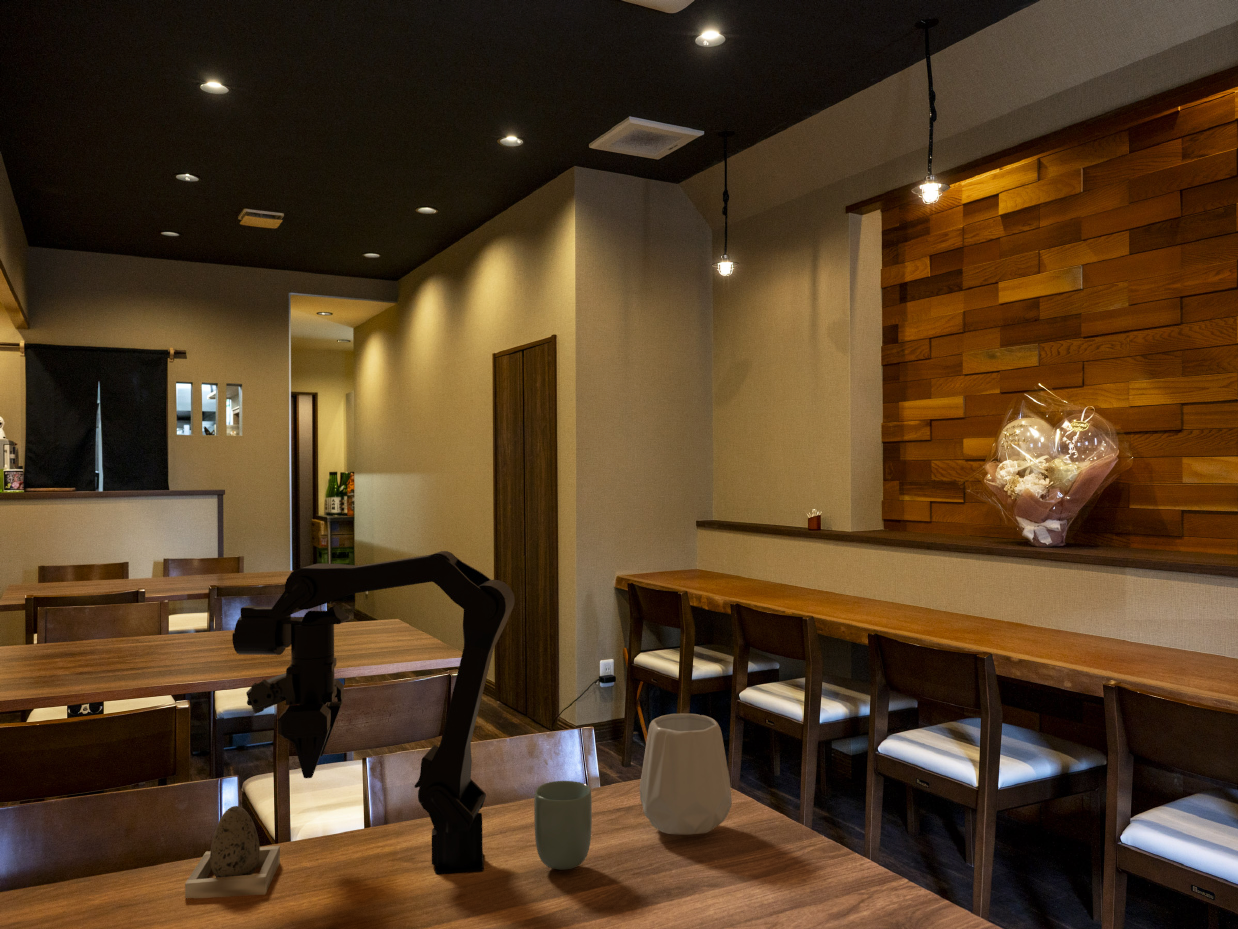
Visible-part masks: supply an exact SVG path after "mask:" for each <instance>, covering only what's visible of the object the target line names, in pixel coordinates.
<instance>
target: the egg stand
mask: <svg viewBox="0 0 1238 929" xmlns="http://www.w3.org/2000/svg"><path fill="white" fill-rule="evenodd" d="M259 847H260V854H259V860H258V864H257V866H256V868H261V869H260V871H259V873H258V874H252V875H243V876H230V877H218V878H216V877H209V878H208V876H209V875H210V874H209V873H211V872H212V868H211V863H210V852H211V850H210V851H208V850H206V851H205V853H204V854H203V856H202V857H201V859H200V860H199V861H198V863H197V865H196V866H195V868H194V869H193V871H192V872H191V874H190V876H189V877H188V878H187V880H186V881H185V883H184V898H194V899H209V898H211V899H212V898H226V897H245V896H256V895H257V896H260V895H266V894H267V892H268V889H269V887H270V885H271V884H272V880H273V879H274V877H275V875H276V872H277V870H278V868H279V866H280V864H281V851H280V850H281V845H272V846H259Z"/></svg>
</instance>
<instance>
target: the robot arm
mask: <svg viewBox="0 0 1238 929" xmlns="http://www.w3.org/2000/svg"><path fill="white" fill-rule="evenodd" d="M426 583H434V584H435V585H436V586H438V587H439V588H440V590H442V591H443V592H444V594H445V595H447V597H449V599H450V600H451V601H452V602H453V603H455V604H456V605H457V606H458V607H460V608H462V609H463V618H462V633H463V634H462V635H463V649H462V654H461V657H460V661H459V666H458V669H457V673H456V676H455V677H456V679H455V681H454V686H453V690H452V695H451V698H450V703H449V705H448V706H449V707H448V711H447V714H446V718H445V723H444V728H443V731H442V735H441V738H440V742H439V743H440V744H439V746H438V745H436V744H433V746H431V748H430V749H429V750H428V751H427V752H426V753H425V754H424V756H423V757H422V758H421V762H420V772H419V777H418V779H417V781H416V783H415V784H414V788H415V789H418V790H417V799H418V800H417V801H418V803H419V804H420V805H421V807H422V808H423V810H424V811H425V812H427V813H428V815H429V819H430V821H431V823H432V826H433V828H432V829H431V865H432V866H434V867H435V868H434V874H435V875H452V874H462V873H463V874H464V873H474V872H475V873H478V872H483V871H484V869H485V866H484V851H483V847H484V846H483V813H482V812H480V811H481V810H482V809H483V806H484V803H485V800H486V798H487V793H486V792H485V791H484V790H483V789H482V788H481V787H480V786H479V785H478V784H477V783H476V782H475V781H474V780H473V779H472V778H471V777H472V765H473V764H472V763H473V762H472V761H473V759H472V748H471V747H472V745H471V744H472V739H473V734H474V730H475V726H476V722H477V717H478V716H479V715H478V713H479V710H480V706H481V702H482V698H483V693H484V689H485V686H486V682H487V678H488V674H489V669H490V665H491V661H492V657H493V652H494V649H495V646H496V645H497V643H498V641H499V639H500V637H501V635H502V633H503V630H504V629H505V627H506V625H507V623H508V620H509V618H510V616H511V614H512V611H513V608H514V606H515V593H514V592H513V590H512V589H511V587H510V586H509V585H508V584H507V583H506V582H504V581H502V580H499V579H498V580H497V579H491V578H489V577H488V576H487V575H486V574H484V573H483V572H482V571H479V570H478V569H477V568H474V567H473V566H470V565H469V564H467V563H465V562H463V561H462V560H461V559H459V558H458V557H457V556H455V554H453V553H452V552H450V551H448V550H441V551H438V552H434V553H432V554H425V555H417V556H413V557H407V558H406V557H405V558H399V559H393V560H387V561H380V562H373V563H367V564H362V565H361V564H359V565H357V564H355V565H352V564H346V563H345V564H344V563H343V564H342V563H315V564H311V565H308V566H304V567H299V568H296V569H294V570H292V571H291V572H290V573H289V575H288V576H287V578H286V580H285V583H284V591H283V593H282V594H281V595H280V597H278V599H277V600H276V602H275V604H274V605H273V606H259V605H252V604H251V605H250V604H249V605H246V606H243V607H240V616H239V617H238V619H237V621H236V623H235V625H234V626H235V627H234V631H233V633H232V640H231V641H232V645H233V650H234V651H235V653H236V654H238V655H239V656H240V655H243V656H247V655H249V656H255V655H256V656H257V655H258V656H259V655H260V656H265V655H266V656H269V655H270V656H280V655H282V654H283V653H284V652H285V650H286V649H287V648H289V647H290V649H291V650H290V652H291V653H290V654H291V658H290V664H289V666H288V667H287V668H286V670H285V673H282V674H279V675H276V676H274V677H271V678H269V679H262V680H261V681H260V682H254V683H253V684H252V685H251V687H250V688H249V689H248V690H247V691H246V697H247V701H246V704H247V706H250V707H251V708H252V711H253V713H254V714H260V713H262V712H264V710H266V709H269V708H271V707H273V706H275V705H278V704H281V703H283V702H285V706H288V707H287V708H286V709H285V710H284V711H283V712H282V713H281V714H280V716H279V717H278V719H277V735H280V737H282V739H286V740H288V741H290V742H291V743H292V744H293V745H294V749H295V752H296V755H297V758H298V763H299V766H300V769H301V773H302V777H303V778H304V779H312V778H313V776H314V774H315V772H316V769H317V766H318V763H319V760H320V757H323V755H324V754H325V753H324V752H325V750H326V748H327V744H328V741H329V739H330V737H331V734H332V731H333V729H334V726H335V723H336V721H337V718H338V715H339V712H340V710H341V708H342V706H343V700H344V698H345V685H344V684H343V683H342V682H341V681H340V680H339V679H338V678H337V679H336V678H335V669H336V666H337V657H335V625H341V624H343V623H345V622H348V621H349V620H350V616H349V614H347V613H346V612H345V611H343V610H342V609H341V608H340V607H339V605H338V604H334V605H332V606H330V607H329V608H328V609H327V610H310V609H314V608H316V607H319V606H323V605H325V604H328V603H331V602H334V601H337V600H340V599H343V598H346V597H348V596H351V595H355V594H359V593H367V592H374V591H380V590H387V589H393V588H399V587H401V588H402V587H405V586H407V587H408V586H412V585H419V584H420V585H421V584H426ZM304 610H307V611H306V612H305V614H304V615H303V616H292V615H293V614H296V613H298V612H301V611H304ZM335 698H336V700H337V701H334V700H335Z"/></svg>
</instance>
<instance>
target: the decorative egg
mask: <svg viewBox="0 0 1238 929" xmlns="http://www.w3.org/2000/svg"><path fill="white" fill-rule="evenodd" d="M260 847H261V846H260V840H259V836H258V832H257V828H256V826H255V823H254V821H253V819H252V817H251V816H250V814H249V813H248V812H247V810H246V809H244V808H243V807H242V806H239V805H233V806H231V807H229V808H228V809H226V810H225V812H224V813H223V814H222V815H221V817H220V819H219V821H218V823H217V825H216V828H215V831H214V834H213V837H212V840H211V846H210V851H211V852H210V863H211V868H212V870H211V872H212V873H213V875H214V877H215V878H218V877H230V876H243V875H253V873H254V872H255V870H256V868H257V867H256V866H257V864H258V860H259V854H260Z"/></svg>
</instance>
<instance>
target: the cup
mask: <svg viewBox="0 0 1238 929" xmlns="http://www.w3.org/2000/svg"><path fill="white" fill-rule="evenodd" d="M592 796H593V795H592V789H591V787H590V785H588V784H587V783H584V782H580V781H576V780H575V781H574V780H556V781H555V780H554V781H550V782H546V783H543V784H541V785H539V786H538V787H537V788H536V789H535V792H534V804H533V807H534V808H533V809H534V818H533V819H534V820H533V821H534V838H535V846H536V850H537V854H538V856H539V859H540V860H541V862H542V863H543V864H544V866H546V867H548V868H551V869H552V870H553V869H554V870H560V871H561V870H562V871H564V870H565V871H566V870H572V869H575V868H578V866H581V865H582V864H583V863H584V861H585V860H586V858H587V857H588V854H589V851H590V848H591V847H590V846H591V840H592V828H593V827H592V819H593V817H592V816H593V814H592V813H593V811H592V810H593V809H592V808H593V807H592V804H593V802H592V799H593V798H592Z"/></svg>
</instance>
